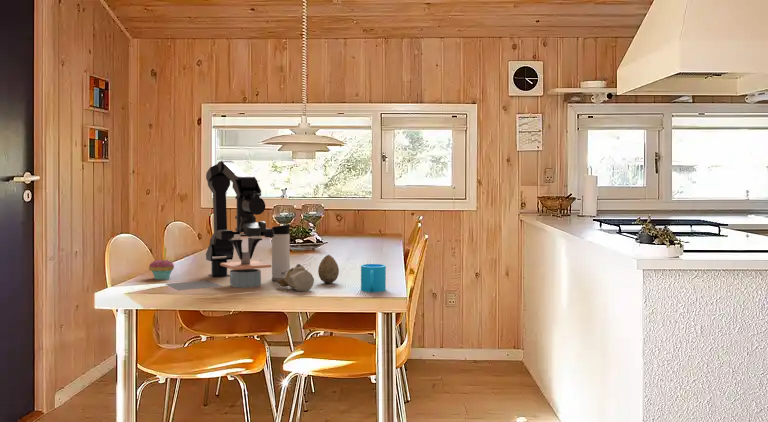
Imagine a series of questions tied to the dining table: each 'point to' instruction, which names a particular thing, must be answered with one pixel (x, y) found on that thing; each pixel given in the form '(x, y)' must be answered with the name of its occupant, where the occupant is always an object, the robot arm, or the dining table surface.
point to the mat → (193, 285)
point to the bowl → (245, 278)
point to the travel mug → (280, 252)
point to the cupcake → (161, 268)
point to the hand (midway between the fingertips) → (245, 259)
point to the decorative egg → (328, 269)
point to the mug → (373, 277)
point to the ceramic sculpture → (298, 279)
